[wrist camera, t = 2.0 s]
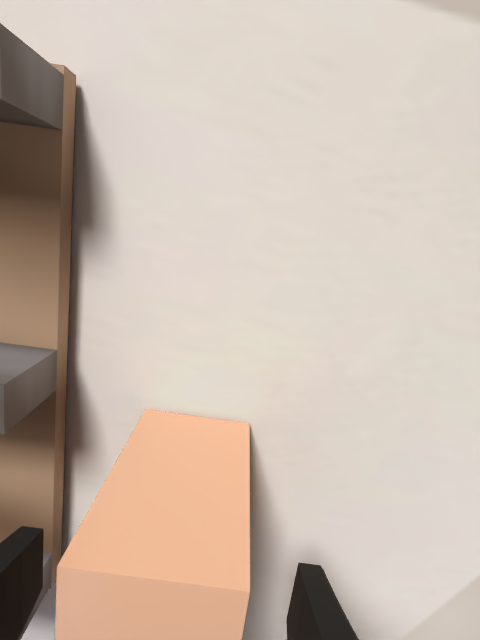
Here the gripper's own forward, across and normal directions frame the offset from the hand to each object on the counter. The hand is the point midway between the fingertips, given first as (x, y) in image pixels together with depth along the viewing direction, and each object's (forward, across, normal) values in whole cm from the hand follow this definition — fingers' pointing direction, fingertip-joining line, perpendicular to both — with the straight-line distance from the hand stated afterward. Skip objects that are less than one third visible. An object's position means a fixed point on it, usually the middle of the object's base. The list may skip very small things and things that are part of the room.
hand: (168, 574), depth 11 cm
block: (+5, 0, 0) cm, 5 cm away
